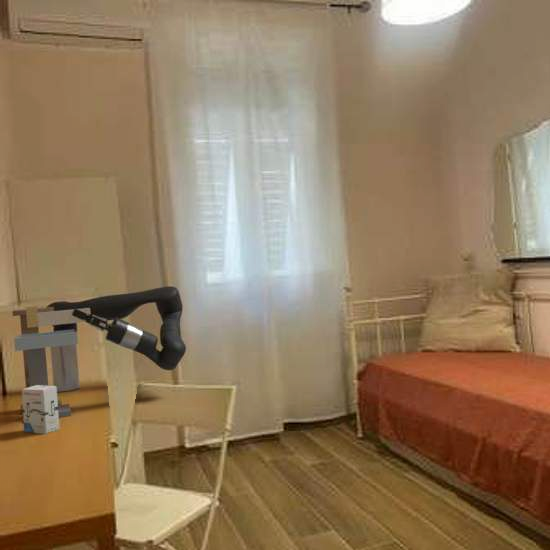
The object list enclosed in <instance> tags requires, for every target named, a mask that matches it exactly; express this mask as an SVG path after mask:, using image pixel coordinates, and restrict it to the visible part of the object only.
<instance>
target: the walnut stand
mask: <svg viewBox="0 0 550 550" xmlns="http://www.w3.org/2000/svg"><path fill="white" fill-rule="evenodd" d="M51 311H54V307H48V308H46V307H37V313H40V312H51ZM18 316H19V319H20V320H19V321H20V332H21V335H26V334H36V333H40V331H39V327H30V328H27V315H26V309H18V310H17V309H16V310H12V317H18ZM22 357H23V367H24V368H23V369H24V379H25V388H28V387H30V380H29V368H28V356H27V350H22ZM57 401H58V405H63V403H62V398H57ZM20 415H23V404H21V405H20Z"/></svg>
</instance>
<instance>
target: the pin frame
mask: <svg viewBox="0 0 550 550" xmlns="http://www.w3.org/2000/svg"><path fill="white" fill-rule="evenodd" d="M13 340H14V342H13V343H14V351H16V352H17V351H19V352H20V351H23V350H27V356H28V368H29V380H30V387H32V386H35V385H45V386H49V379H48V378H49V377H48V365H47V354H46V353H47V352H46V348H50V347H55V346H63V345H72V344H76V345H78V344H79V342H78V331H77V332H75V330H64V331H55V332H53V331H45V332H39V333H36V334H26V335H22V334H19V335H17V334H16V335H15V336H14V339H13ZM71 411H72V410H71V408H70V404H69V403H67V404H62V405H58V416H59V419H61V418H65V417H71V416H72V412H71Z"/></svg>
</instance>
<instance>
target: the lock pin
mask: <svg viewBox="0 0 550 550" xmlns="http://www.w3.org/2000/svg"><path fill="white" fill-rule="evenodd" d="M37 308H38V306H37V305H32V306H26V307H25V310H26V315H27V328H30V327H38V328H39V327H47V326H52V325H59V324H69V323H77V324H78V323H85V322H84V321H83V320H82V319H79V318H77V317H75V316H73V315H72V313H73V311H74V309H72V310H62V311H51V312H40V313H37ZM77 310H79V311H82V312H84V313H86V314H90V315H91V313H90V308H83V309H77Z"/></svg>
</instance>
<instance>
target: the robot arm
mask: <svg viewBox="0 0 550 550" xmlns="http://www.w3.org/2000/svg"><path fill="white" fill-rule="evenodd" d="M152 303H155V305H156V309H157V312H158V313H159V316H160V318H161V321H162V324H161V325H160V329H159V339H158V336H156V335H155V334H153V333H150V332H148V331H146V330H144V329H142V328H140V327H138V326H137V325H135V324H132V323H130V322H128V321H125V320H123V319H125V318H127V317H129V316H130V315H131V314H133V313H134V311H136V310H137V309H138V308H140V307H142V306H144V305H147V304H152ZM48 307H54V311H62V310H72V309H74V311H73V313H72V315H73V316H75V317H77V318H79V319H82V320H83V321H84V322H83V323H87V324H88V326H90V327H93V328H95V329H96V330H98V331H101V332H102V333H103V331H107V333H106V336H105V340H107V341H109V342H111V343H113V344H115V345H119V346H120V347H122V348H125V349H128V350H132V351H134V352H137V353H139V354H141V355H143V356H145V357H146V358H147V359H149V360H150V361H151V362H153V363H154V364H155V365H157V367H159V368H161V369H162V370H165V371H173V370H175V369H176V368H177V366H178V365H179V363H180V362H181V360H183V357H184V356H185V353H186V351H187V347H186V344H185V342H184V340H183V339H182V334H181V333H182V332H181V319H182V315H183V309H184V308H183V300H182V298H181V294H180V292H179V289H178V288H177V287H176V286H170V285H169V286H162V287H156V288H152V289H148V290H143V291H142V290H141V291H136V292H129V293H121V294H111V295H103V296H98V297H94V298H91V299H85V300H81V301H72V302H70V301H67V300H63V301H62V300H61V301H55V302H52V303H50V304H48V305H47V306H46V307H45V308H48ZM83 308H90V313H91V315H90V314H86V313H84V312H82V311H79V310H77V309H83ZM108 321H112V322H111V323H109V322H108ZM51 326H52V328H53V331H52V332H55V331H64V330H75V332H77V333H78V323H69V324H59V325H51ZM158 340H159V341H160V345H161V347H162V348H161V350H159V349H158V348H157V345H158ZM49 348H50V359H51V360H50V361H51V371H52V372H51V374H52V384H53V385H52V386H56V387H57V393H58V392H60V393H61V392H68V391H74V390H77V389H80V374H79V364H78V363H79V362H78V352H77V351H78V350H77V344H72V345H63V346H55V347H49Z"/></svg>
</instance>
